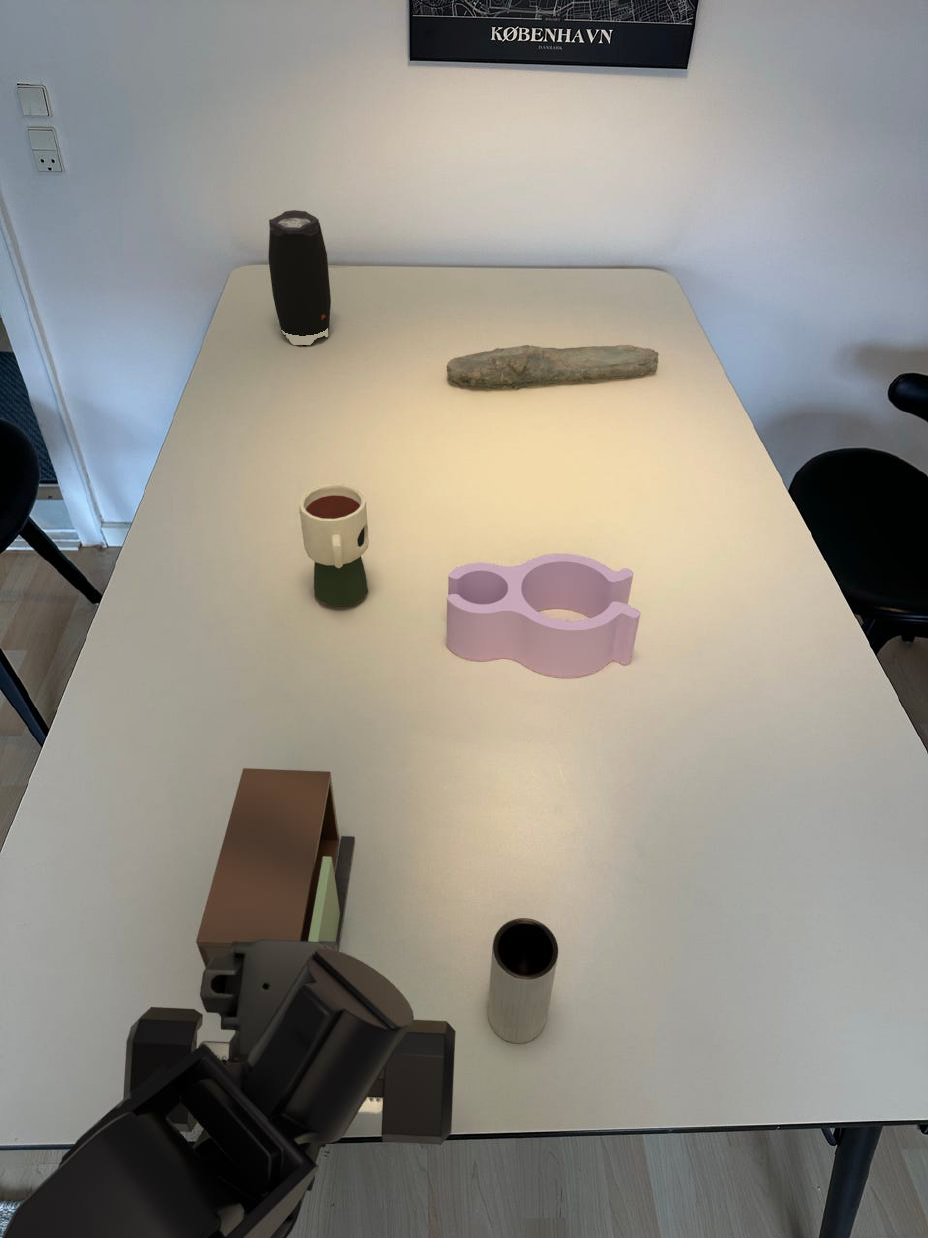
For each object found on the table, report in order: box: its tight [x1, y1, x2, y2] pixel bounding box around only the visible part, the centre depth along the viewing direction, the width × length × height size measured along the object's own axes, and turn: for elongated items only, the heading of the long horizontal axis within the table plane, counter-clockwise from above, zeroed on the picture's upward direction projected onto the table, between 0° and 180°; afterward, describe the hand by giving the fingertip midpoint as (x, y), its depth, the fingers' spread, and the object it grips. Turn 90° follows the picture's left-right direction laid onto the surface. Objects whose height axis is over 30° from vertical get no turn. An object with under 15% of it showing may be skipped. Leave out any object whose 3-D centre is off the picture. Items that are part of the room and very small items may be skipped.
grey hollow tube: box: [487, 917, 559, 1044], centre depth 65 cm, size 4×4×10 cm
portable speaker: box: [268, 209, 332, 336], centre depth 148 cm, size 9×9×20 cm
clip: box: [446, 552, 641, 679], centre depth 98 cm, size 20×12×7 cm, turn 88°
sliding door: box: [308, 856, 340, 951], centre depth 68 cm, size 8×2×8 cm, turn 178°
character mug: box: [298, 483, 370, 607], centre depth 100 cm, size 11×7×13 cm, turn 9°
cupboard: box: [195, 767, 356, 969], centre depth 71 cm, size 15×9×10 cm, turn 178°
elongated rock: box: [446, 344, 660, 390], centre depth 144 cm, size 35×5×10 cm
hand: (318, 1018), depth 61 cm, fingers closed
